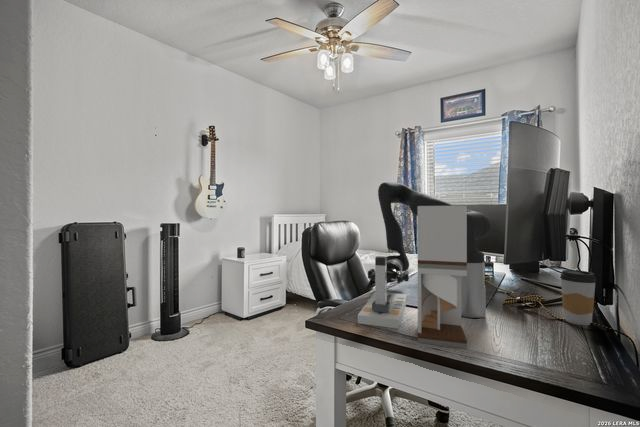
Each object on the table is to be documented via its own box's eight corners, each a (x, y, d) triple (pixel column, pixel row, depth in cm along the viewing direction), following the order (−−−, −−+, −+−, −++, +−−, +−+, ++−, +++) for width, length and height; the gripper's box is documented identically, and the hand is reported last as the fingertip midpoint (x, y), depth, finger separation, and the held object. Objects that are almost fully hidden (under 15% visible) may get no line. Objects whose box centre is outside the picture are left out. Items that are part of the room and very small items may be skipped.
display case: (417, 342, 77) (417, 206, 77) (417, 327, 88) (417, 206, 87) (466, 348, 74) (466, 205, 74) (460, 331, 84) (460, 206, 84)
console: (407, 301, 113) (407, 294, 113) (398, 328, 87) (398, 319, 87) (374, 298, 117) (374, 291, 117) (357, 323, 91) (357, 314, 91)
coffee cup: (596, 321, 91) (596, 272, 91) (596, 329, 85) (596, 276, 85) (561, 315, 97) (561, 268, 97) (558, 322, 91) (558, 272, 91)
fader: (390, 308, 95) (390, 256, 95) (388, 312, 91) (388, 258, 91) (374, 306, 97) (374, 255, 97) (371, 310, 93) (371, 257, 93)
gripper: (373, 259, 120) (364, 267, 105) (410, 261, 115) (407, 269, 100) (373, 278, 121) (364, 288, 105) (410, 281, 116) (407, 292, 100)
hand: (385, 279), depth 103 cm, fingers open, 8 cm apart
